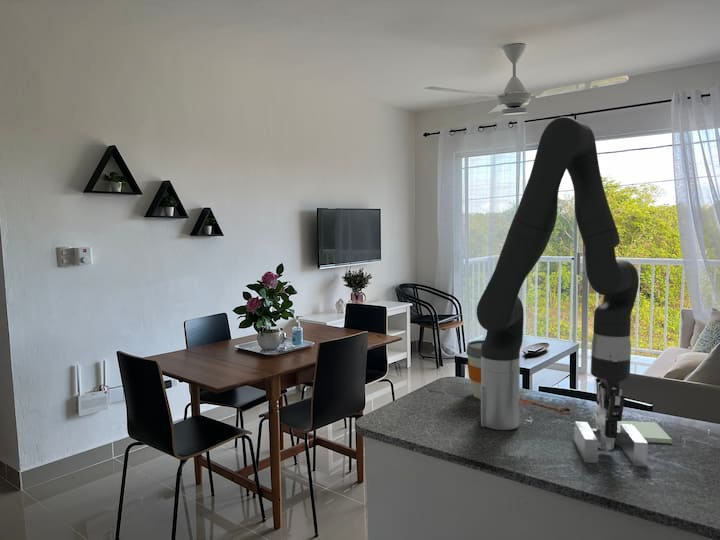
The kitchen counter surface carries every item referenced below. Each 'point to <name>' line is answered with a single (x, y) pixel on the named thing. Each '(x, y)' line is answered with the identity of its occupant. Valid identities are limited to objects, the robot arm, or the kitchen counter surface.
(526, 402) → the key
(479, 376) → the reusable coffee cup
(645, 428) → the mat
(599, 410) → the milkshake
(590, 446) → the grey u-shaped bracket
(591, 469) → the kitchen counter surface
